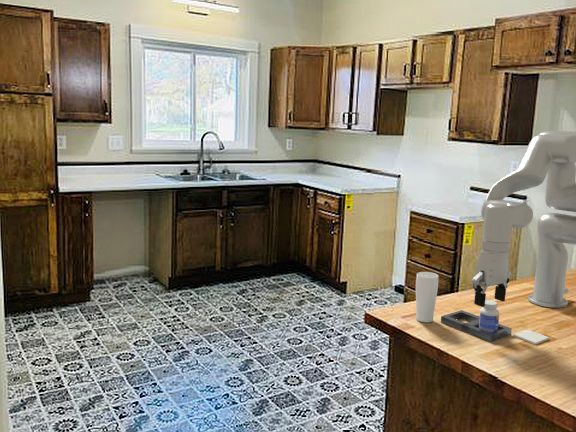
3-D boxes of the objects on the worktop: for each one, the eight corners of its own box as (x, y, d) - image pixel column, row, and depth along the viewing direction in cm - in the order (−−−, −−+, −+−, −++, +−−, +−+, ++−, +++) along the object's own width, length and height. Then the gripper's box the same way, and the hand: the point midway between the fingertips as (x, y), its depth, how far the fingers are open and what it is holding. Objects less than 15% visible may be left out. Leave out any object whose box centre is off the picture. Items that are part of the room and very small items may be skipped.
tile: (526, 331, 164) (526, 329, 164) (548, 339, 158) (549, 337, 158) (513, 336, 160) (513, 334, 160) (535, 344, 154) (535, 342, 154)
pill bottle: (498, 337, 159) (501, 306, 157) (479, 336, 160) (482, 304, 158) (495, 330, 164) (498, 300, 162) (477, 329, 165) (479, 298, 163)
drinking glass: (439, 320, 172) (442, 274, 169) (428, 326, 167) (432, 279, 164) (420, 314, 176) (423, 270, 173) (409, 320, 171) (412, 274, 168)
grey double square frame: (461, 315, 175) (461, 310, 175) (511, 334, 161) (511, 328, 161) (440, 322, 170) (441, 316, 169) (490, 342, 155) (491, 335, 155)
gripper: (501, 240, 165) (496, 294, 167) (465, 246, 155) (460, 303, 158) (524, 246, 158) (518, 301, 161) (488, 252, 149) (482, 311, 152)
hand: (489, 302), depth 160 cm, fingers open, 9 cm apart
